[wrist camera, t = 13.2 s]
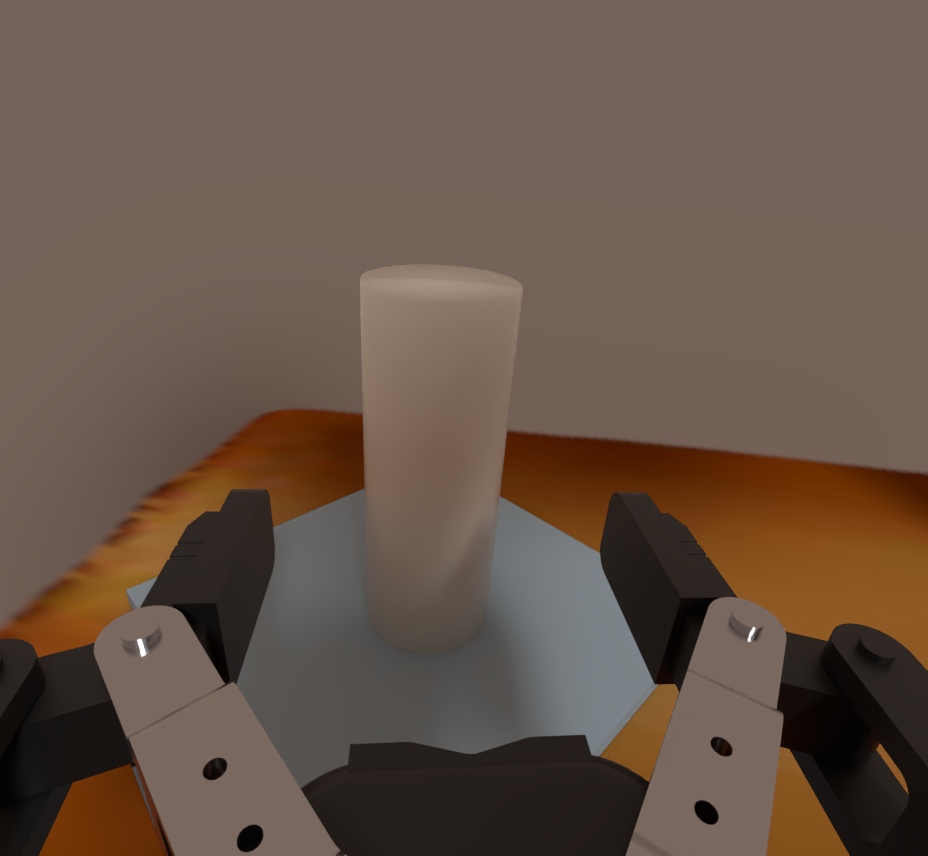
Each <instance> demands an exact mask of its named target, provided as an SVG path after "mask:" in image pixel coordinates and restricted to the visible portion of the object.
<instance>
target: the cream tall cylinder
mask: <svg viewBox="0 0 928 856" xmlns="http://www.w3.org/2000/svg"><path fill="white" fill-rule="evenodd" d="M360 297H361V298H360V303H361V349H362V390H363V391H362V395H363V440H364V486H365V532H366V578H367V614H368V618H369V621H370V623H371V626H372V627H373V629H374V630H375V632H376V633H377V634H378V635H379V636H380V637H381V638H382V639H384V640H385V641H386V642H388V643H389V644H391V645H393V646H395V647H397V648H399V649H402V650H406V651H409V652H414V653H423V654H430V653H441V652H445V651H450V650H453V649H455V648H458V647H460V646H462V645H464V644H466V643H467V642H469V641H470V640H471V639H472V638H474V637H475V636H476V635H477V634H478V632H479V631H480V630H481V628H482V627H483V625H484V623H485V620H486V616H487V610H488V601H489V591H490V582H491V573H492V564H493V555H494V545H495V536H496V527H497V518H498V509H499V500H500V490H501V481H502V472H503V463H504V454H505V444H506V435H507V426H508V416H509V408H510V399H511V389H512V380H513V371H514V361H515V353H516V344H517V334H518V325H519V316H520V307H521V298H522V285H521V284H520V283H519V282H518V281H516V280H515V279H513V278H510V277H508V276H505V275H502V274H499V273H495V272H491V271H486V270H481V269H475V268H468V267H460V266H448V265H426V264H425V265H424V264H420V265H418V264H417V265H397V266H389V267H382V268H378V269H374V270H370V271H368V272H366V273H364V274H363V275H361V277H360Z"/></svg>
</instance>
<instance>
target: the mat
mask: <svg viewBox="0 0 928 856" xmlns="http://www.w3.org/2000/svg"><path fill="white" fill-rule="evenodd" d="M273 532H274V542H275V560H274V567H273V572H272V575H271V578H270V581H269V585H268V588H267V591H266V594H265V597H264V600H263V603H262V606H261V609H260V613H259V616H258V619H257V622H256V625H255V628H254V631H253V634H252V637H251V641H250V644H249V647H248V650H247V653H246V656H245V659H244V662H243V665H242V669H241V672H240V675H239V678H238V681H237V684H236V686H237V687H238V688H239V690H240V691H241V693H242V695H243V696H244V698H245V700H246V701H247V703H248V704H249V706H250V708H251V709H252V711H253V713H254V714H255V716H256V717H257V719H258V721H259V722H260V724H261V726H262V727H263V729H264V730H265V732H266V734H267V735H268V737H269V739H270V740H271V742H272V743H273V745H274V747H275V748H276V750H277V752H278V753H279V755H280V756H281V758H282V760H283V761H284V763H285V765H286V766H287V768H288V769H289V771H290V773H291V774H292V776H293V778H294V779H295V781H296V782H297V784H298V786H299V787H300V788H302V787H303V786H305V785H306V784H307V783H309V782H310V781H312V780H314V779H316V778H317V777H319V776H321V775H322V774H325V773H327V772H329V771H331V770H334V769H336V768H339V767H342V766H345V765H348V760H349V750H350V744H365V743H390V742H414V743H418V744H423V745H428V746H433V747H437V748H442V749H447V750H451V751H456V752H461V753H466V754H475V753H479V752H483V751H486V750H489V749H492V748H495V747H499V746H502V745H505V744H508V743H511V742H515V741H518V740H521V739H524V738H527V737H538V736H563V735H586V738H587V742H588V745H589V748H590V752H591V755H595V756H600V754H601V753H602V752H603V751H604V750H605V748H606V747H607V746H608V745H609V744H610V742H611V741H612V740H613V739H614V738H615V736H616V735H617V734H618V733H619V731H620V730H621V729H622V728H623V727H624V725H625V724H626V723H627V722H628V721H629V719H630V718H631V717H632V716H633V715H634V713H635V712H636V711H637V710H638V709H639V707H640V706H641V705H642V704H643V702H644V701H645V700H646V699H647V698H648V696H649V695H650V694H651V693H652V692H653V690H654V689H655V688H656V687H657V686H658V684H654V682H653V680H652V678H651V675H650V673H649V671H648V669H647V667H646V664H645V662H644V660H643V658H642V655H641V653H640V651H639V649H638V647H637V644H636V642H635V640H634V638H633V636H632V633H631V631H630V629H629V627H628V624H627V622H626V620H625V618H624V616H623V613H622V611H621V609H620V607H619V605H618V602H617V600H616V598H615V596H614V594H613V591H612V589H611V587H610V585H609V582H608V580H607V578H606V576H605V574H604V571H603V569H602V565H601V559H600V553H598V552H597V551H595V550H593V549H591V548H590V547H588V546H586V545H584V544H583V543H581V542H579V541H577V540H576V539H574V538H572V537H570V536H569V535H567V534H565V533H563V532H562V531H560V530H558V529H556V528H555V527H553V526H551V525H549V524H548V523H546V522H544V521H543V520H541V519H539V518H537V517H536V516H534V515H532V514H530V513H529V512H527V511H525V510H523V509H522V508H520V507H518V506H516V505H515V504H513V503H511V502H509V501H508V500H506V499H504V498H502V497H501V496H500V500H499V509H498V518H497V527H496V536H495V545H494V555H493V564H492V573H491V582H490V591H489V601H488V610H487V616H486V620H485V623H484V625H483V627H482V628H481V630H480V631H479V632H478V634H477V635H476V636H475V637H474V638H472V639H471V640H470V641H469V642H467V643H466V644H464V645H462V646H460V647H458V648H455V649H453V650H450V651H445V652H441V653H430V654H423V653H414V652H409V651H406V650H402V649H399V648H397V647H395V646H393V645H391V644H389V643H388V642H386V641H385V640H384V639H382V638H381V637H380V636H379V635H378V634H377V633H376V632H375V630H374V629H373V627H372V626H371V623H370V621H369V618H368V614H367V578H366V532H365V488H364V489H362V490H360V491H357V492H355V493H353V494H350V495H348V496H346V497H343V498H341V499H338V500H336V501H334V502H331V503H329V504H327V505H324V506H322V507H320V508H317V509H315V510H313V511H310V512H308V513H306V514H303V515H301V516H299V517H296V518H294V519H292V520H289V521H287V522H285V523H282V524H280V525H278V526H275V527H273ZM156 579H157V577H156V578H153V579H151V580H149V581H146V582H144V583H142V584H139V585H137V586H135V587H132V588H130V589H127V590H126V592H127V596H128V600H129V603H130V605H131V607H132V609H133V610H136V609H139V608H140V606H141V605H142V603H143V601H144V600H145V598H146V596H147V594H148V593H149V591H150V589H151V588H152V586H153V584H154V582H155V581H156Z"/></svg>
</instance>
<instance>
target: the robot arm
mask: <svg viewBox="0 0 928 856" xmlns="http://www.w3.org/2000/svg"><path fill="white" fill-rule="evenodd" d="M600 559H601V565H602V569H603V571H604V574H605V576H606V578H607V580H608V582H609V585H610V587H611V589H612V591H613V594H614V596H615V598H616V600H617V602H618V605H619V607H620V609H621V611H622V613H623V616H624V618H625V620H626V622H627V624H628V627H629V629H630V631H631V633H632V636H633V638H634V640H635V642H636V644H637V647H638V649H639V651H640V653H641V655H642V658H643V660H644V662H645V664H646V667H647V669H648V671H649V673H650V675H651V678H652V680H653V682H654V684H676V687H677V689H678V691H679V695H678V698H677V701H676V704H675V707H674V710H673V713H672V716H671V719H670V722H669V725H668V728H667V730H666V733H665V736H664V739H663V742H662V745H661V748H660V751H659V754H658V757H657V760H656V763H655V766H654V769H653V772H652V775H651V778H650V781H649V782H648V781H646V780H645V779H644V778H642V777H641V776H640V775H638V774H636V773H635V772H633V771H631V770H629V769H628V768H626V767H624V766H622V765H620V764H618V763H615V762H613V761H611V760H608V759H605V758H602V757H599V756H595V755H591V752H590V748H589V745H588V742H587V738H586V735H563V736H538V737H527V738H524V739H521V740H518V741H515V742H511V743H508V744H505V745H502V746H499V747H495V748H492V749H489V750H486V751H483V752H479V753H475V754H466V753H461V752H456V751H451V750H447V749H442V748H437V747H433V746H428V745H423V744H418V743H414V742H390V743H365V744H350V750H349V760H348V765H345V766H342V767H339V768H336V769H334V770H331V771H329V772H327V773H325V774H322V775H321V776H319V777H317V778H316V779H314V780H312V781H310V782H309V783H307V784H306V785H305V786H303V787H302V788H300V787H299V786H298V784H297V782H296V781H295V779H294V778H293V776H292V774H291V773H290V771H289V769H288V768H287V766H286V765H285V763H284V761H283V760H282V758H281V756H280V755H279V753H278V752H277V750H276V748H275V747H274V745H273V743H272V742H271V740H270V739H269V737H268V735H267V734H266V732H265V730H264V729H263V727H262V726H261V724H260V722H259V721H258V719H257V717H256V716H255V714H254V713H253V711H252V709H251V708H250V706H249V704H248V703H247V701H246V700H245V698H244V696H243V695H242V693H241V691H240V690H239V688H238V687H237V686H236V684H237V681H238V678H239V675H240V672H241V669H242V665H243V662H244V659H245V656H246V653H247V650H248V647H249V644H250V641H251V637H252V634H253V631H254V628H255V625H256V622H257V619H258V616H259V613H260V609H261V606H262V603H263V600H264V597H265V594H266V591H267V588H268V585H269V581H270V578H271V575H272V572H273V567H274V560H275V542H274V532H273V523H272V514H271V505H270V497H269V493H268V491H267V490H250V489H233V490H231V491H230V493H229V495H228V497H227V498H226V500H225V502H224V504H223V506H222V508H221V510H220V512H205V513H203V514H202V515H201V516H199V517H198V518H197V519H196V520H194V521H193V522H192V523H191V524H189V525H188V526H187V528H186V529H185V531H184V533H183V534H182V536H181V538H180V540H179V541H178V546H175V548H174V550H173V552H172V553H171V555H170V559H169V560H167V562H166V564H165V565H164V567H163V569H162V570H161V572H160V574H159V576H158V577H157V579H156V581H155V582H154V584H153V586H152V588H151V589H150V591H149V593H148V594H147V596H146V598H145V600H144V601H143V603H142V605H141V606H140V608H139V609H136V610H133V611H130V612H128V613H126V614H124V615H122V616H120V617H118V618H117V619H115V620H114V621H112V622H111V623H110V624H109V625H107V626H106V627H105V628H104V629H103V630H102V632H101V633H100V634H99V636H98V637H97V639H96V641H95V643H92V644H89V645H86V646H83V647H79V648H75V649H71V650H67V651H63V652H59V653H55V654H51V655H47V656H43V657H39V658H38V657H37V654H36V652H35V649H34V648H33V646H32V645H31V644H29V643H28V642H26V641H23V640H19V639H1V640H0V856H39V854H40V851H41V849H42V847H43V845H44V843H45V841H46V839H47V836H48V834H49V832H50V830H51V828H52V826H53V823H54V821H55V819H56V817H57V815H58V813H59V811H60V808H61V806H62V804H63V802H64V800H65V798H66V796H67V793H68V791H69V789H70V787H71V785H72V783H73V782H76V781H79V780H82V779H85V778H88V777H91V776H94V775H97V774H100V773H103V772H106V771H109V770H112V769H115V768H118V767H121V766H124V765H127V764H130V766H131V769H132V771H133V774H134V777H135V779H136V782H137V785H138V787H139V790H140V792H141V795H142V798H143V800H144V803H145V806H146V808H147V811H148V814H149V816H150V819H151V821H152V824H153V827H154V829H155V832H156V835H157V837H158V840H159V843H160V845H161V848H162V851H163V853H164V856H766V853H767V845H768V837H769V829H770V821H771V813H772V806H773V798H774V790H775V782H776V774H777V766H778V759H779V751H780V747H784V748H788V749H790V751H791V752H792V754H793V756H794V758H795V759H796V761H797V763H798V765H799V767H800V768H801V770H802V772H803V774H804V775H805V777H806V779H807V781H808V782H809V784H810V786H811V788H812V790H813V791H814V793H815V795H816V797H817V798H818V800H819V802H820V804H821V805H822V807H823V809H824V811H825V812H826V814H827V816H828V818H829V820H830V821H831V823H832V825H833V827H834V828H835V830H836V832H837V834H838V835H839V837H840V839H841V841H842V843H843V844H844V846H845V848H846V850H847V851H848V853H849V855H850V856H928V671H927V670H926V669H925V668H924V667H923V665H922V664H921V663H920V662H919V661H918V660H917V659H916V658H915V657H914V656H913V654H912V653H911V652H910V651H909V650H908V649H907V648H905V647H904V646H903V645H902V644H901V643H899V642H898V641H896V640H895V639H893V638H892V637H890V636H888V635H887V634H885V633H883V632H880V631H878V630H876V629H873V628H871V627H867V626H864V625H859V624H842V625H839V626H837V627H836V628H834V630H833V632H832V634H831V636H830V638H829V640H828V641H824V640H820V639H815V638H811V637H807V636H802V635H798V634H793V633H789V632H786V631H785V630H784V628H783V626H782V624H781V623H780V622H779V620H778V619H777V618H776V617H775V616H774V615H772V614H771V613H770V612H769V611H767V610H766V609H764V608H763V607H761V606H759V605H757V604H755V603H753V602H750V601H747V600H744V599H740V598H737V596H736V595H735V594H734V592H733V591H732V589H731V588H730V587H729V585H728V584H727V582H726V581H725V580H724V578H723V577H722V575H721V574H720V573H719V571H718V570H717V569H716V567H715V566H714V564H713V563H712V562H711V560H710V559H709V557H706V553H705V552H704V551H703V549H702V548H701V546H700V545H697V541H696V539H695V538H694V537H693V535H692V534H691V533H690V531H689V530H688V528H687V527H686V526H685V525H683V524H682V523H681V522H679V521H678V520H677V519H675V518H674V517H673V516H671V515H670V514H669V513H661V512H660V511H659V510H658V508H657V507H656V505H655V504H654V502H653V501H652V499H651V498H650V496H649V495H648V494H647V493H614V494H613V495H612V497H611V499H610V503H609V508H608V512H607V517H606V522H605V526H604V531H603V536H602V540H601V546H600ZM879 744H881V745H882V746H883V748H884V749H885V750H886V752H887V753H888V755H889V756H890V757H891V759H892V760H893V762H894V763H895V764H896V766H897V767H898V768H899V770H900V771H901V773H902V775H903V777H904V779H905V781H906V784H907V788H908V794H909V795H908V794H907V792H906V791H905V790H904V788H903V787H902V785H901V784H900V783H899V781H898V780H897V778H896V777H895V776H894V774H893V773H892V771H891V770H890V768H889V767H888V766H887V764H886V763H885V761H884V760H883V759H882V757H881V756H880V754H879V753H878V752H877V750H876V749H877V747H878V746H879Z"/></svg>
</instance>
